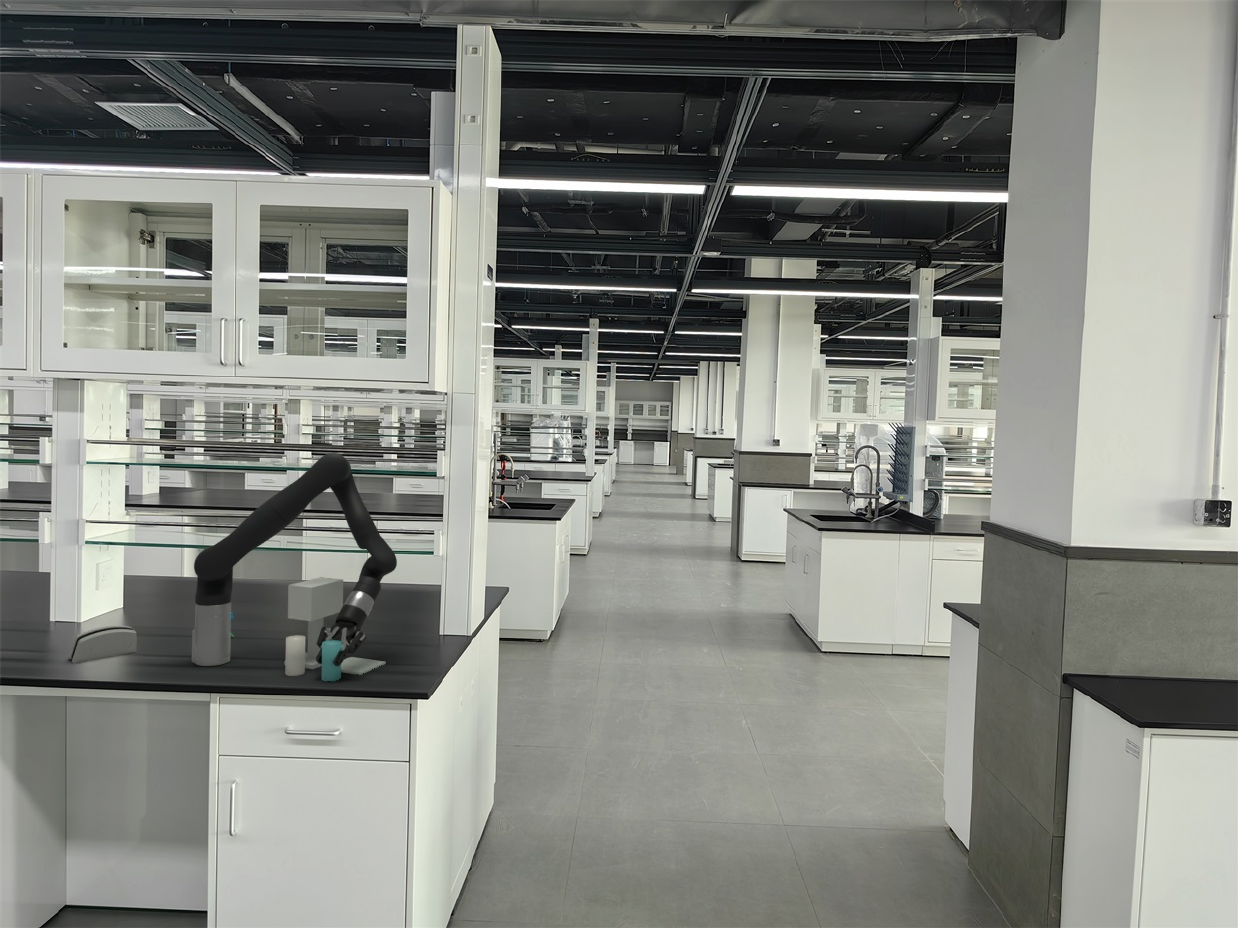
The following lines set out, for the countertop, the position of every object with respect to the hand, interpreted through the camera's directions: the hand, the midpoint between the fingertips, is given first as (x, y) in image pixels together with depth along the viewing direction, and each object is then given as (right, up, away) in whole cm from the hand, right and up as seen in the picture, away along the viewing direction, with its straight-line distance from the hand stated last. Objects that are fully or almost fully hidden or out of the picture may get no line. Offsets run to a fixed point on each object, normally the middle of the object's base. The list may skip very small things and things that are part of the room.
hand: (327, 663), depth 220 cm
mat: (+3, -4, +14) cm, 15 cm away
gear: (-49, -2, +41) cm, 64 cm away
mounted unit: (-10, -4, +18) cm, 21 cm away
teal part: (0, -5, +2) cm, 5 cm away
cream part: (-11, -4, +6) cm, 13 cm away
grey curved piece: (-70, -2, +15) cm, 72 cm away
